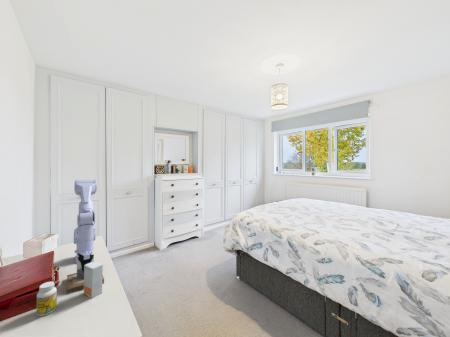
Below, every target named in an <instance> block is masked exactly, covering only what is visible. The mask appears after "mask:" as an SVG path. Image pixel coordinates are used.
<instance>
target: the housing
mask: <svg viewBox="0 0 450 337" xmlns="http://www.w3.org/2000/svg"><path fill="white" fill-rule="evenodd" d="M93 261H95V257H93V259H92V261H91V262H93ZM76 273H77V277H81V276H84V272H83V271H82V266H81V263H80V261H79V260H78V258H77V263H76Z"/></svg>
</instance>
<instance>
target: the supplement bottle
mask: <svg viewBox="0 0 450 337" xmlns="http://www.w3.org/2000/svg"><path fill="white" fill-rule="evenodd" d="M38 289H39V290H38V292H37V293H36V315H37V316H39V317H43V316H47V315H50V314H52V313H53V312H54V311H55V310H56V309H57V306H58V298H57V297H58V289H57V287H56V286H55V282H54V281H46V282H43V283H42V284H40V285H39V288H38Z"/></svg>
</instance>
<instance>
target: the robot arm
mask: <svg viewBox="0 0 450 337" xmlns="http://www.w3.org/2000/svg"><path fill="white" fill-rule="evenodd" d="M97 191H98V181H97V180H96V179H82V180H81V179H75V180H74V194H75V195H76V196H78V197H79V198H80V202H79V203H78V214H77V215H76V216H77V217H76V218H77V220H76V225H77V227H75V229H73V230H74V232H73V244H74V245H75V246H76V249H75V250H74V253H75V254H76V255H75V257H74V259H75V264H77V258H78V260H79V261H80V263H81V266H82V271H83V272H84V265H86V264H88V263H91V261H92V259H93V257H94V256H95V254H94V253H93V251H94V250H95V246H94V241H96V234H97V233H96V232H97V231H96V227H95V223H96V213H95V212H96V211H95V209H94V208H95V207H94V202H93V200H91V199H92V198H91V197H92V196H93V195H95V194H96V193H97ZM94 258H95V257H94Z"/></svg>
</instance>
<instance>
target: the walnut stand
mask: <svg viewBox="0 0 450 337" xmlns="http://www.w3.org/2000/svg"><path fill="white" fill-rule="evenodd" d="M103 274H104V273H102V285H103V284H105V277H104V275H103ZM82 290H84V276H81V277H77V272H74V273H70V274H67V275H66V295H68V294H71V293H74V292H76V293H77V292H79V291H82Z"/></svg>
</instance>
